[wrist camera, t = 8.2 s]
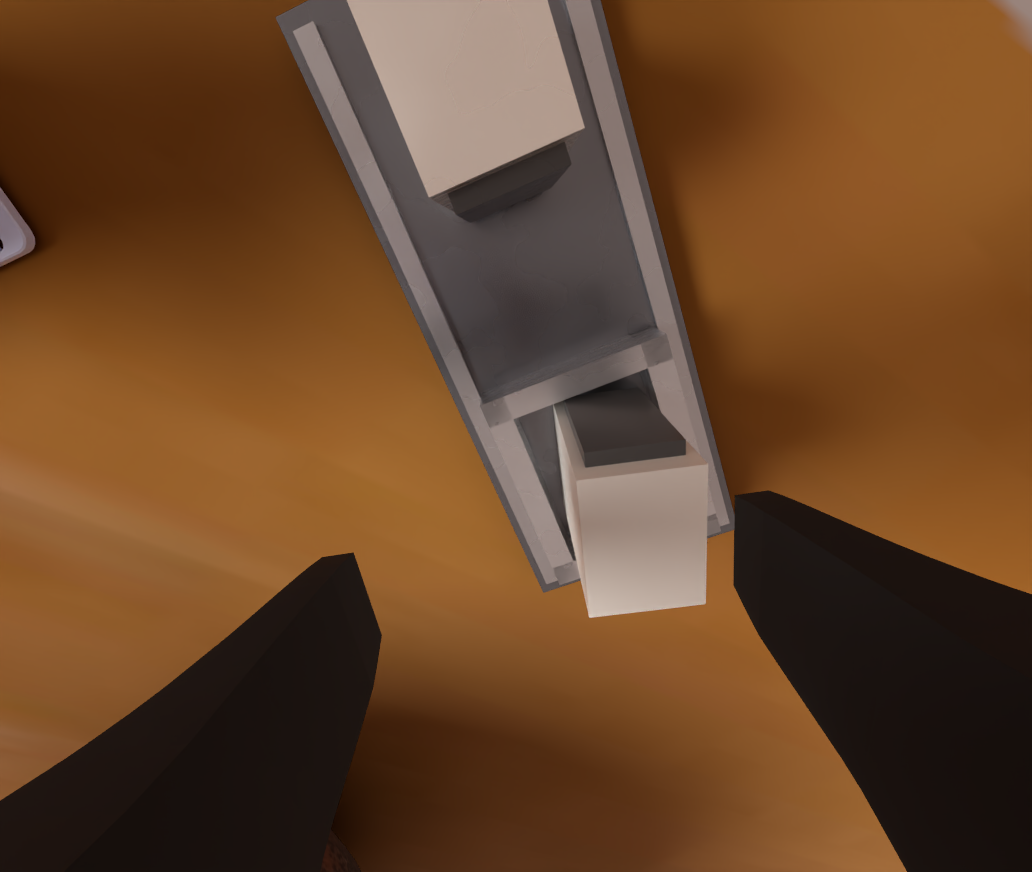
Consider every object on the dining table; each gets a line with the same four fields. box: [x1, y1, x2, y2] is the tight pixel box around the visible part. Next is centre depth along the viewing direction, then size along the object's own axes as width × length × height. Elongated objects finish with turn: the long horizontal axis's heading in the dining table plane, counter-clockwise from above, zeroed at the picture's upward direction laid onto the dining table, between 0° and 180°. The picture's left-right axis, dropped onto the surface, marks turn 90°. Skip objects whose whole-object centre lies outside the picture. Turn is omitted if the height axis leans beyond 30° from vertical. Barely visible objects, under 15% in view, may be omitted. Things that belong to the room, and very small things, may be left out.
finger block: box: [553, 387, 708, 618], centre depth 14 cm, size 3×4×6 cm
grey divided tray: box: [276, 0, 735, 593], centre depth 13 cm, size 8×20×7 cm, turn 22°
